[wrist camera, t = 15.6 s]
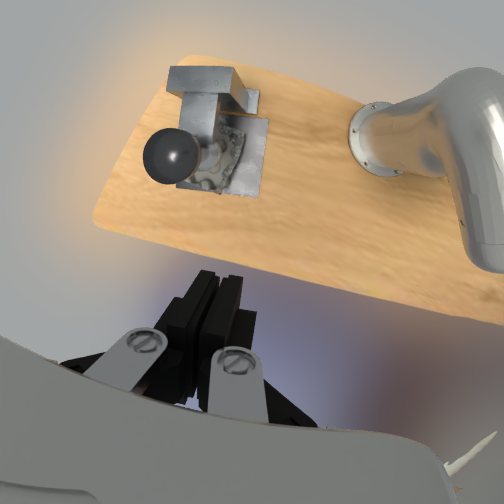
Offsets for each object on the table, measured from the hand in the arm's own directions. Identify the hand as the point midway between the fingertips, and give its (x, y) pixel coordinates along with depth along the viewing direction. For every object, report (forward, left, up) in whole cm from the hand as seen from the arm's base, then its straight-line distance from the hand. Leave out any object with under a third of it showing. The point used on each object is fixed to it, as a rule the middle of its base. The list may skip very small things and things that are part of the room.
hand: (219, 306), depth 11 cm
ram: (+8, -5, -27) cm, 29 cm away
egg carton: (+9, -4, -37) cm, 38 cm away
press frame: (+8, -7, -37) cm, 39 cm away
